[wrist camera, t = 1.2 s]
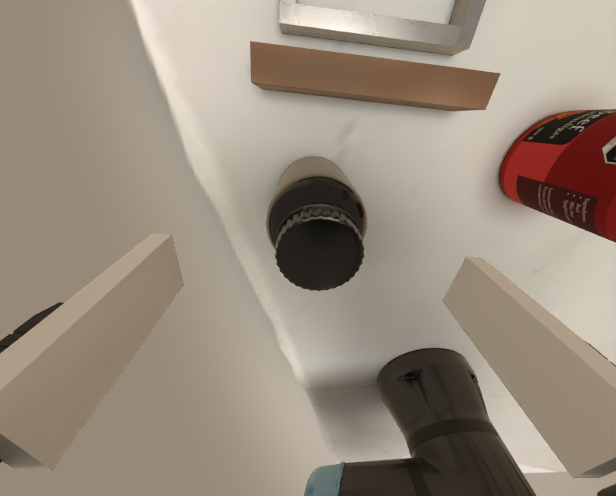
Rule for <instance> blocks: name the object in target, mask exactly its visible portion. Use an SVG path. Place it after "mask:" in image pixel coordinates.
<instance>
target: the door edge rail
mask: <svg viewBox="0 0 616 496" xmlns="http://www.w3.org/2000/svg"><path fill="white" fill-rule="evenodd" d="M250 51H251V82H252V83H254V84H255V85H257V86H258V87H260V88H261V89H268V90H276V91H285V92H293V93H302V94H311V95H319V96H328V97H336V98H345V99H353V100H362V101H371V102H379V103H388V104H396V105H405V106H414V107H422V108H431V109H439V110H448V111H465V110H485V109H486V107H487V104H488V102H489V100H490V97H491V95H492V92H493V90H494V88H495V85H496V83H497V81H498V78H499V76H500V73H493V72H485V71H477V70H470V69H462V68H454V67H446V66H438V65H431V64H423V63H415V62H407V61H400V60H392V59H384V58H376V57H368V56H361V55H353V54H345V53H337V52H330V51H322V50H314V49H306V48H298V47H291V46H283V45H275V44H267V43H259V42H252V41H250Z"/></svg>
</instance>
